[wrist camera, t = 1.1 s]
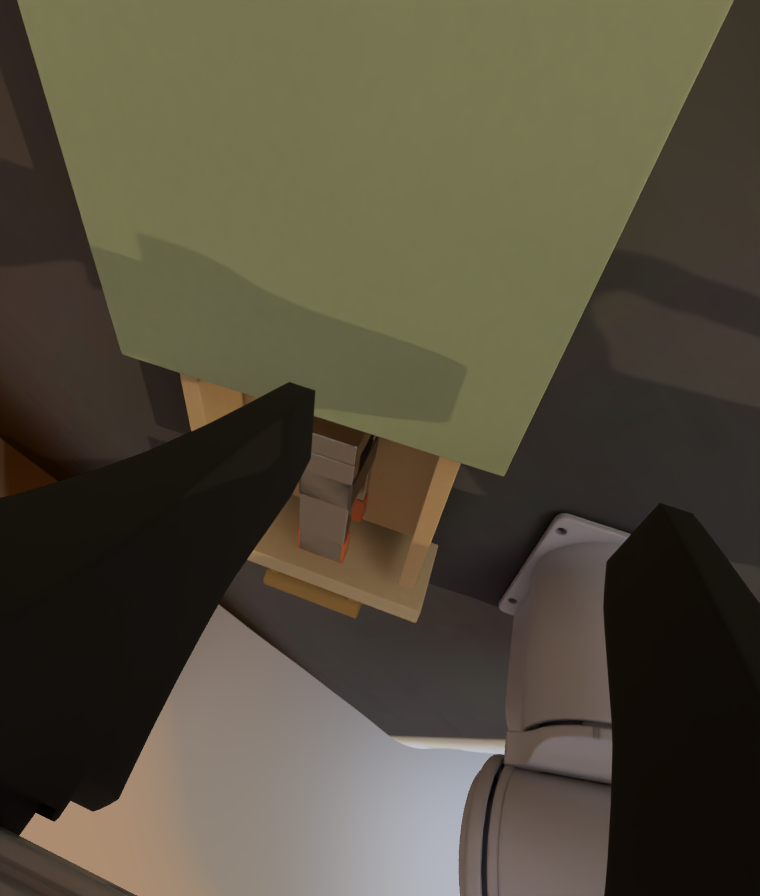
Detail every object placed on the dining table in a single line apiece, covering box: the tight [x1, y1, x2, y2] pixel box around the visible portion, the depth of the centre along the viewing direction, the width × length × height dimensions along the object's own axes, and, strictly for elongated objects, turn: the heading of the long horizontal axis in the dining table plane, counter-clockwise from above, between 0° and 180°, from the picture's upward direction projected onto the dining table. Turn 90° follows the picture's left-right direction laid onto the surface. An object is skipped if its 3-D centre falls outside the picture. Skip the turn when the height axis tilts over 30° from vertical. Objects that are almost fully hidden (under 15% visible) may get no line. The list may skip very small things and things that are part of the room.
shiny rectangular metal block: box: [298, 416, 379, 564], centre depth 20 cm, size 8×2×3 cm, turn 172°
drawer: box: [180, 373, 461, 623], centre depth 22 cm, size 19×12×4 cm, turn 172°
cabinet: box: [17, 0, 734, 476], centre depth 11 cm, size 16×14×6 cm
